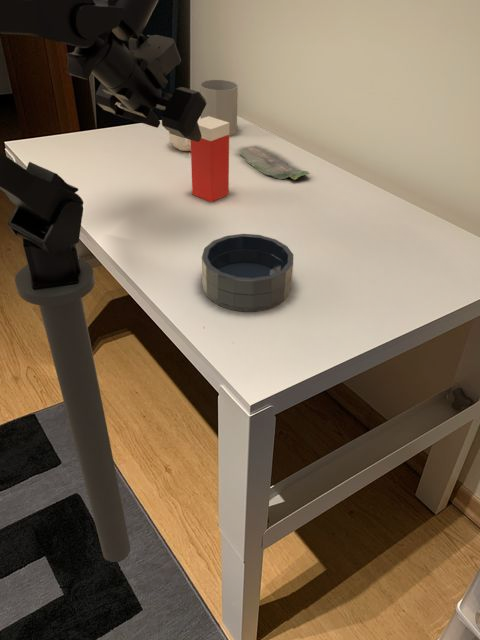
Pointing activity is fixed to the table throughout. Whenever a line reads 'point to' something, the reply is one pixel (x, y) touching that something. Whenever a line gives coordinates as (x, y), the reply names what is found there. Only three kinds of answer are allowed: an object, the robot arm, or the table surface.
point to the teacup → (180, 142)
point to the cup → (221, 101)
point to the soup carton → (211, 160)
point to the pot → (247, 272)
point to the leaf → (270, 164)
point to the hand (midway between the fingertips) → (178, 131)
